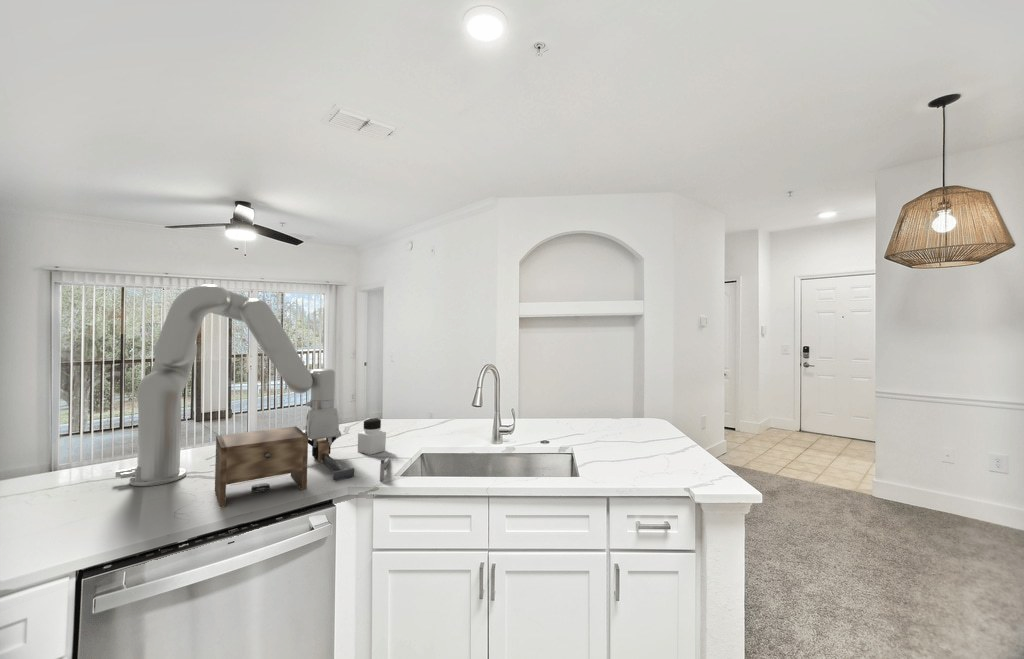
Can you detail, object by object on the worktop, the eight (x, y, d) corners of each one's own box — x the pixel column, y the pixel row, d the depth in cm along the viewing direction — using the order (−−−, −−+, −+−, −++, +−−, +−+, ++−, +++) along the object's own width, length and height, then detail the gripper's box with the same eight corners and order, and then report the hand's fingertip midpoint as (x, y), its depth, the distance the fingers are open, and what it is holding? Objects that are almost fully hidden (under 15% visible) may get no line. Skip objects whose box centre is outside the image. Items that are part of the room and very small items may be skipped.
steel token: (260, 492, 113) (261, 488, 113) (247, 490, 114) (247, 487, 114) (273, 487, 117) (273, 484, 117) (260, 486, 118) (260, 482, 118)
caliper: (383, 482, 124) (384, 461, 124) (379, 482, 123) (380, 461, 123) (389, 460, 144) (390, 442, 144) (386, 460, 143) (387, 442, 143)
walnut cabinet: (220, 509, 102) (221, 448, 102) (214, 490, 114) (216, 435, 114) (307, 491, 115) (309, 437, 115) (294, 475, 127) (296, 426, 127)
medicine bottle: (385, 450, 154) (386, 418, 154) (370, 455, 148) (370, 421, 148) (373, 447, 158) (373, 416, 158) (357, 451, 152) (358, 419, 152)
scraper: (333, 480, 123) (334, 460, 123) (309, 456, 144) (309, 439, 144) (354, 476, 127) (354, 457, 127) (327, 453, 148) (327, 437, 148)
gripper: (299, 408, 136) (298, 464, 136) (350, 403, 146) (348, 455, 146) (294, 404, 141) (292, 458, 141) (343, 400, 152) (341, 450, 152)
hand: (321, 456), depth 144 cm, fingers closed on scraper, 2 cm apart
